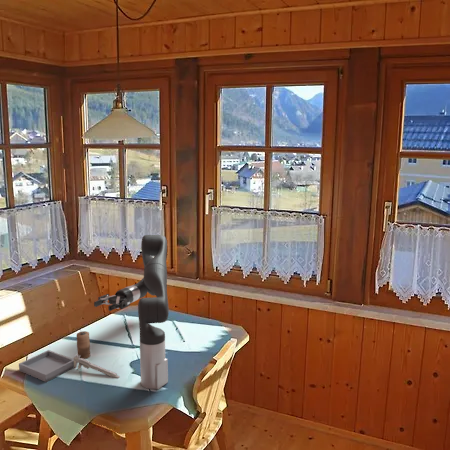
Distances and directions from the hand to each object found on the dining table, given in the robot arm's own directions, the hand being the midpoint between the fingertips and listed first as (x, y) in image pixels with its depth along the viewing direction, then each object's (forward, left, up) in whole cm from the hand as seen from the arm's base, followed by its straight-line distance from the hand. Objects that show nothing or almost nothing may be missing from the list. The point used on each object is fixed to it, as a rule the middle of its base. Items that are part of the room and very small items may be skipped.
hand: (101, 306), depth 204 cm
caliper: (-14, +18, -19) cm, 30 cm away
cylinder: (0, +11, -18) cm, 21 cm away
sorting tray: (+4, +26, -18) cm, 32 cm away
